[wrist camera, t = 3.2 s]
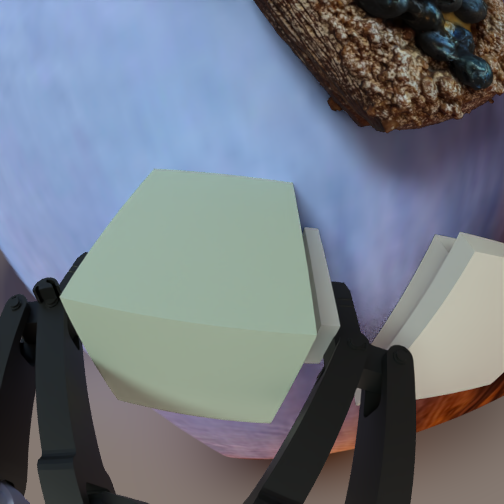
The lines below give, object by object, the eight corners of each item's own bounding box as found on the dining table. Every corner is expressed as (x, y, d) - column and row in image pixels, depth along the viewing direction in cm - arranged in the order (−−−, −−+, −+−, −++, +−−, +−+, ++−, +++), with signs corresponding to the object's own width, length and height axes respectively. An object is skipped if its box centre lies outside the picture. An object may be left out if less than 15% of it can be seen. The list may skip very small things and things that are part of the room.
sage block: (154, 168, 14) (59, 297, 7) (292, 182, 14) (316, 335, 7) (162, 271, 18) (117, 399, 11) (271, 284, 18) (270, 423, 11)
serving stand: (435, 203, 14) (475, 251, 10) (557, 244, 15) (581, 276, 11) (348, 361, 24) (355, 405, 20) (478, 353, 24) (490, 384, 21)
